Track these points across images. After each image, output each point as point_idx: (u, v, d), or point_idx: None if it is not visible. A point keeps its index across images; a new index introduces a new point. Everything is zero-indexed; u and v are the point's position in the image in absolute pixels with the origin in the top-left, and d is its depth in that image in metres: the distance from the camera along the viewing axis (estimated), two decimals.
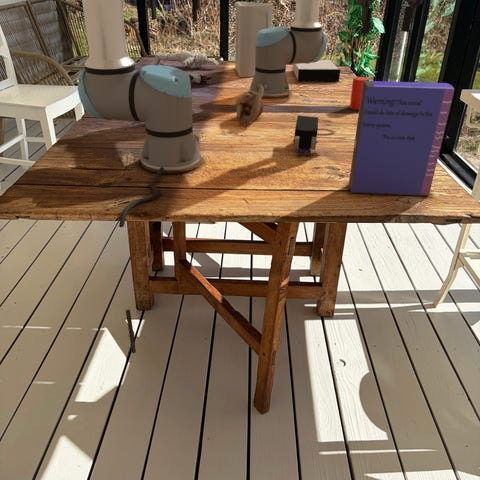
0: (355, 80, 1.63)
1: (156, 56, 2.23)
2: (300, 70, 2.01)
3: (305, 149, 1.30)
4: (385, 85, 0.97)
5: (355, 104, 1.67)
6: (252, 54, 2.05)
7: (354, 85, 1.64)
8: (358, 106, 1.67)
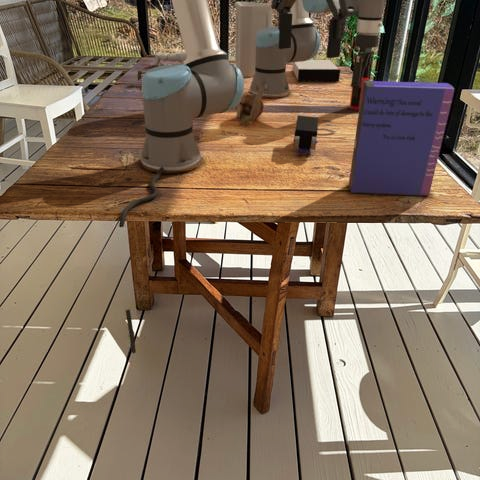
0: None
1: (156, 56, 2.23)
2: (300, 70, 2.01)
3: (305, 149, 1.30)
4: (385, 85, 0.97)
5: None
6: (252, 54, 2.05)
7: None
8: None
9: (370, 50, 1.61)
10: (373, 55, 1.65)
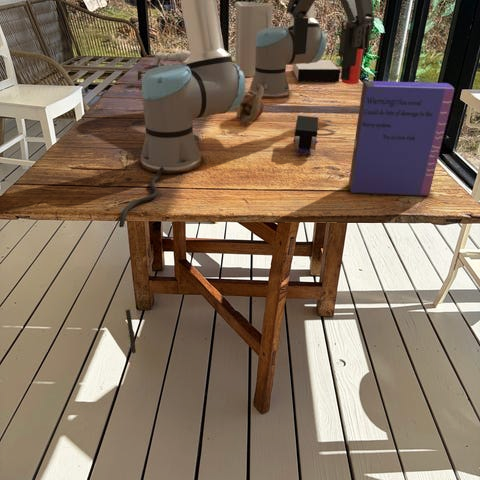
0: None
1: (156, 56, 2.23)
2: (300, 70, 2.01)
3: (305, 149, 1.30)
4: (385, 85, 0.97)
5: None
6: (252, 54, 2.05)
7: None
8: None
9: None
10: (371, 24, 1.50)
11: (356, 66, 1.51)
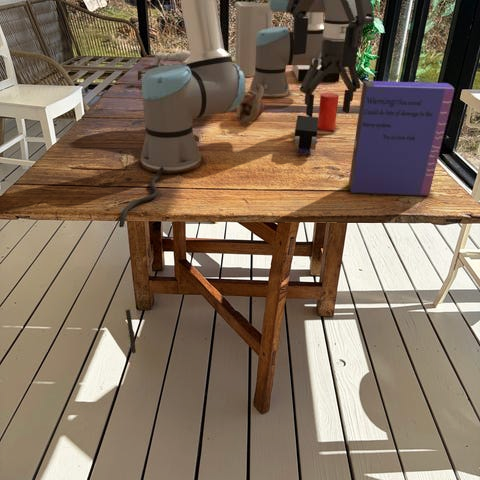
0: None
1: (156, 56, 2.23)
2: (300, 70, 2.01)
3: (305, 149, 1.30)
4: (385, 85, 0.97)
5: (318, 122, 1.48)
6: (252, 54, 2.05)
7: (320, 101, 1.46)
8: (321, 125, 1.48)
9: (341, 59, 1.39)
10: None
11: (328, 113, 1.45)
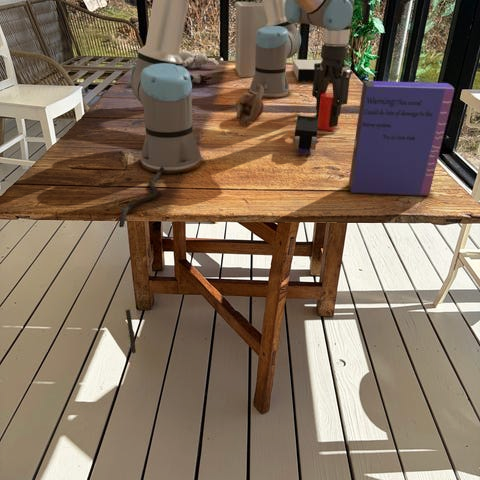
0: None
1: None
2: (300, 70, 2.01)
3: (305, 149, 1.30)
4: (385, 85, 0.97)
5: (318, 122, 1.48)
6: (252, 54, 2.05)
7: (320, 101, 1.46)
8: (321, 125, 1.48)
9: None
10: None
11: (328, 113, 1.45)
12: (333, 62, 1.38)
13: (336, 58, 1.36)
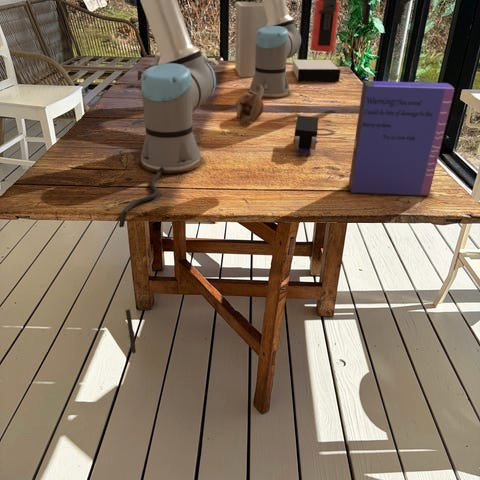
0: None
1: (156, 56, 2.23)
2: (300, 70, 2.01)
3: (305, 149, 1.30)
4: (385, 85, 0.97)
5: (311, 39, 1.11)
6: (252, 54, 2.05)
7: None
8: (311, 43, 1.11)
9: None
10: None
11: (318, 25, 1.07)
12: None
13: None
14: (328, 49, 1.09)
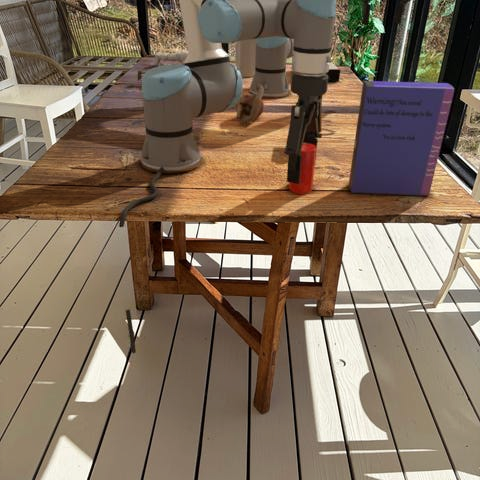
0: None
1: (156, 56, 2.23)
2: None
3: None
4: (385, 85, 0.97)
5: None
6: (252, 54, 2.05)
7: None
8: None
9: None
10: None
11: None
12: None
13: (294, 90, 0.97)
14: (301, 192, 1.08)
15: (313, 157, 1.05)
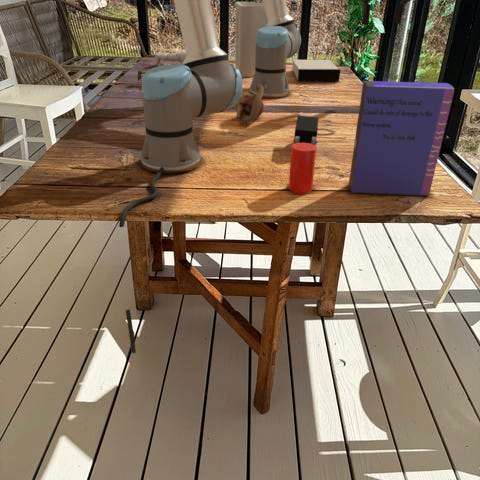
0: None
1: (156, 56, 2.23)
2: (300, 70, 2.01)
3: None
4: (385, 85, 0.97)
5: None
6: (252, 54, 2.05)
7: None
8: None
9: None
10: None
11: (291, 168, 1.07)
12: None
13: None
14: (301, 192, 1.08)
15: (313, 157, 1.05)
